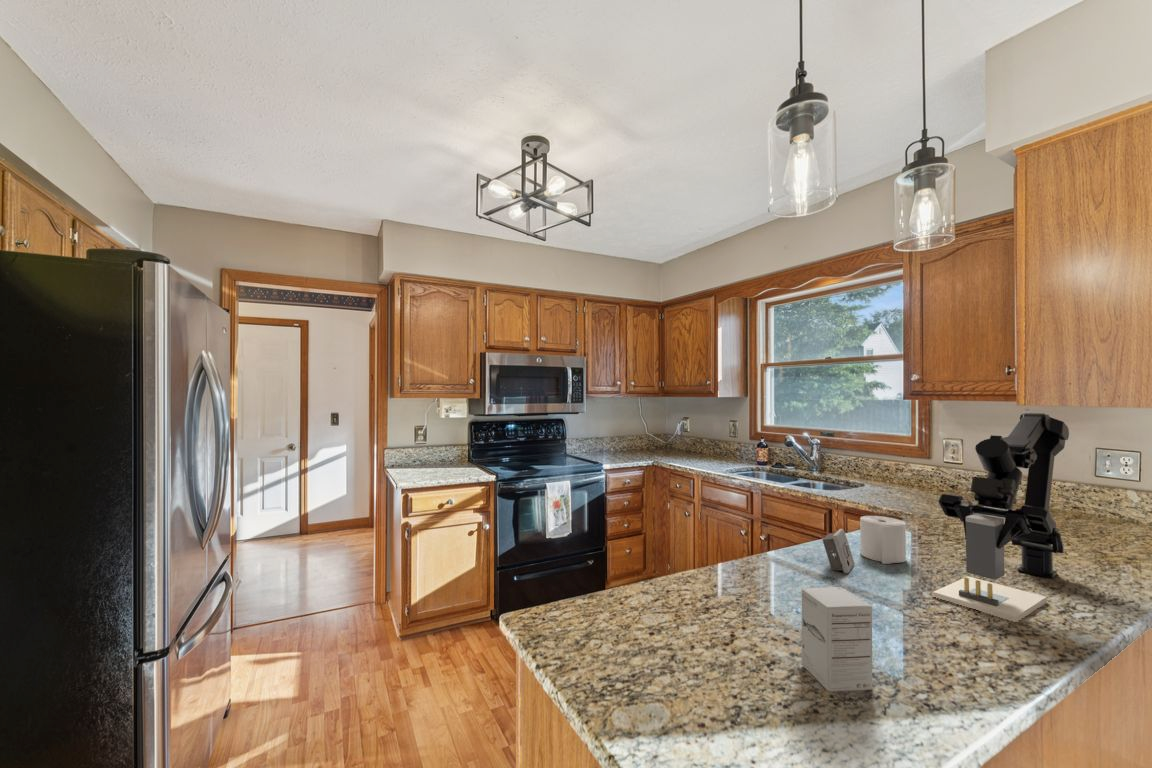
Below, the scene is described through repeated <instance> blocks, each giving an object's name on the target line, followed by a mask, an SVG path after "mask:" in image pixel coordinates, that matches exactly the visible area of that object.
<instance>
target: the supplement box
mask: <svg viewBox="0 0 1152 768" xmlns="http://www.w3.org/2000/svg"><path fill="white" fill-rule="evenodd" d="M801 666H802V667H803V668H804V669H805V670H807V671H808V672H809V673H810V674H811V675H812V676H813V678H815V679H816V681H818V683H820V685H822V686H823V687H824V688H825V690H826V691H828V692H829V693H830V692H850V691H851V692H852V691H853V692H854V691H868V690H869V691H870V690H873V606H872V605H871V604H869V602H866V601H864V600H863V599H861V598H860V597H857V595H854V594H853V593H851V592H850V591H849V590H847V589H845V588H843V587H841V586H840V587H839V586H838V587H837V586H834V587H832V586H831V587H807V588H801Z"/></svg>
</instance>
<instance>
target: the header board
mask: <svg viewBox="0 0 1152 768" xmlns="http://www.w3.org/2000/svg"><path fill="white" fill-rule="evenodd" d="M932 594H933V595H932V598H933V597H936V598H935V599H937V598H939V599H938V600H940V599H942V600H941V601H943V600H946V601H950V602H953V603H956V604H959V605H958V606H960V605H962V606H961V607H963V606H966V607H969V608H973V609H976V610H979V611H982V612H981V613H983V612H985V613H984V614H986V613H988V614H987V615H989V614H991V615H990V616H992V615H994V616H993V617H996V616H997V617H996V618H999V617H1000V618H999V619H1002V618H1003V620H1006V619H1007V620H1006V621H1009V622H1012V621H1013V623H1015V622H1017V623H1019V622H1020V621H1021V620H1023V619H1024V618H1025V616H1026V617H1027V616H1028V615H1030V614H1031V613H1033V612H1035V611H1036V610H1038V609H1039V608H1041V607H1042V606H1044V605H1046V604H1047V601H1048V597H1047V596H1045V595H1041V594H1038V593H1034V592H1029V591H1025V590H1022V589H1018V588H1014V587H1011V586H1007V585H1002V584H999V583H996V582H991V581H987V580H983V579H979V578H975V577H971V576H968V575H967V576H965V577H963V578H961V579H959V580H956V581H954V582H952V583H950V584H948V585H946V586H943V587H941V588H939V589H936V590H934V591H933V592H932ZM946 601H945V602H946ZM950 602H949V603H950ZM953 603H952V604H953ZM956 604H955V605H956ZM966 607H965V608H966ZM969 608H968V609H969ZM1037 608H1038V609H1037ZM973 609H972V610H973ZM976 610H975V611H976ZM1034 610H1035V611H1034ZM979 611H978V612H979ZM1022 618H1023V619H1022ZM1019 620H1020V621H1019Z"/></svg>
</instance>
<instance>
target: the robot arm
mask: <svg viewBox="0 0 1152 768" xmlns="http://www.w3.org/2000/svg"><path fill="white" fill-rule="evenodd" d="M1019 416H1020V417H1019V421H1018V422H1017V424H1016V425H1015V426H1014V428H1013V429H1012V431H1011V432H1010V433H1009V435H1008V436H1005V437H1003V436H1002V435H993V434H991V435H990V436H989V438H987V439H984V440H981V441H980V442H978V443H977V444H975V452H976V454H977V456H978V458H979V461H980V463H981V466H982V467H983V470H984V471H986V472H987V476H986V477H983V476H982V477H981V476H972V479H971V485H970V491H971V492H973V493H974V495H973V499H974V501H976V502H977V503H973V502H971V501H969V500H965V499H964V497H963V495H958V494H951V493H942V494H940V496H939V497H938V504H939V506H940V508H941V510H942V511H943V513H944V515H945V516H946V517H949V518H955V519H959V520H960V521H961V522H962V523H963V530H964V537H965V538H964V539H965V540H966V517H967V516H970V515H973V514H979V515H985V516H991V517H997V518H1003V519H1004V526H1003V528H1002V530H1001V533H1000V535H999V538H998V541H997V548H999V549H1000V548H1002V547H1003V546H1004V547H1005V546H1006V545H1007V544H1009V543H1010V542H1011V545H1013V546H1019V547H1021V548H1020V549H1021V551H1020V552H1021V553H1020V554H1021V565H1020V566H1019V567H1018V568H1017V569H1016V570H1017V572H1019V571H1020V573H1023V574H1030V575H1032V576H1033V575H1034V576H1039V577H1044V578H1048V579H1054V578H1055V577H1056V575H1057V574H1058V570H1054V565H1053V564H1054V562H1053V559H1054V558H1053V556H1054V555H1053V554H1064V552H1065V551H1064V542H1063V538H1062V535H1061V534H1060V531H1059V529H1058V528H1057V522H1056V520H1055V519H1054V517H1053V516H1052V514H1051V513H1050V504H1051V503H1050V502H1051V501H1050V500H1051V495H1052V494H1051V493H1052V486H1053V485H1052V484H1053V483H1052V482H1053V474H1054V464H1055V458H1056V456H1057V455H1058V454H1059V453H1060V452H1062V451H1063V450H1064V449H1065V444H1066V441H1068V440H1069V438H1070V437H1069V436H1070V429H1069V427H1068V425H1067V424H1066V423H1065V422H1064V421H1062V420H1060V419H1057V418H1054V417H1051V416H1050V415H1049V414H1046V413H1038V412H1033V413H1032V412H1025V413H1021V414H1020V415H1019ZM1021 469H1027V470H1028V471H1027V480H1026V486H1025V488H1026V489H1025V495H1024V504H1023V505H1021V507H1020V508H1016V509H1015V510H1014V509H1013V507H1014V504H1015V505H1016V504H1017V494H1018V491H1019V487H1020V486H1021V485H1022V478H1023V472H1022V471H1021Z"/></svg>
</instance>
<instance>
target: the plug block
mask: <svg viewBox="0 0 1152 768" xmlns="http://www.w3.org/2000/svg"><path fill="white" fill-rule="evenodd" d="M1004 523H1005V519H1004V518H998V517H992V516H986V515H980V514H978V513H975V514H973V515H970V516H967V517H966V539H965V558H966V559H965V562H966V563H965V564H966V565H965V567H966V571H965V572H966V573H967V574H971V575H975V576H978V577H983V578H986V579H991V580H994V581H996V580H998V579H1000V578H1003V577H1004V576H1005V546H1003V547H1002V548H1000V549H999V548H997V541H998V538H999V535H1000V533H1001V530H1002V528H1003V526H1004Z"/></svg>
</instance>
